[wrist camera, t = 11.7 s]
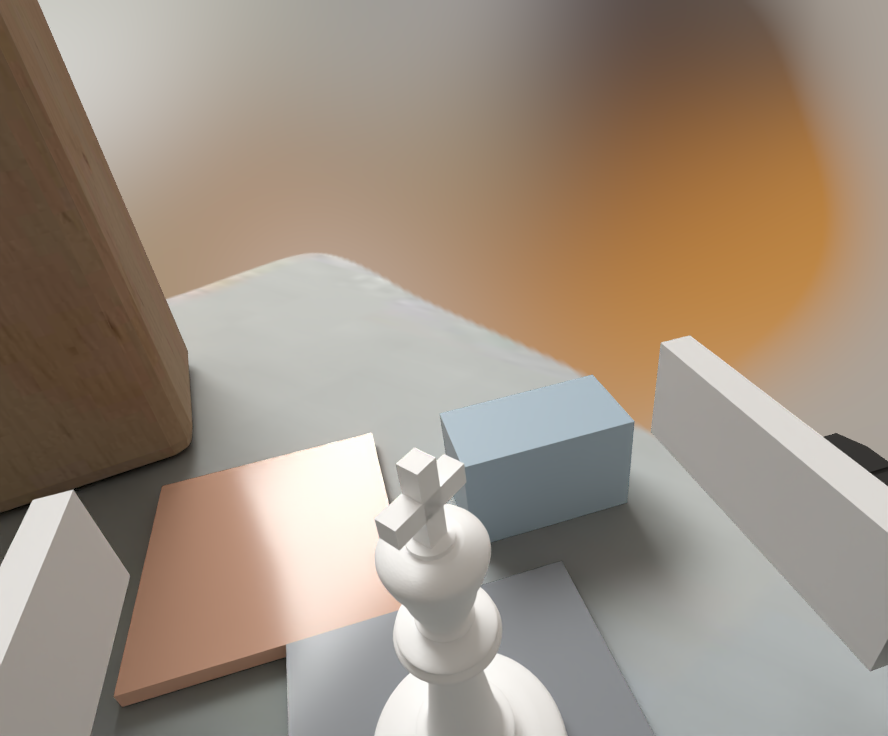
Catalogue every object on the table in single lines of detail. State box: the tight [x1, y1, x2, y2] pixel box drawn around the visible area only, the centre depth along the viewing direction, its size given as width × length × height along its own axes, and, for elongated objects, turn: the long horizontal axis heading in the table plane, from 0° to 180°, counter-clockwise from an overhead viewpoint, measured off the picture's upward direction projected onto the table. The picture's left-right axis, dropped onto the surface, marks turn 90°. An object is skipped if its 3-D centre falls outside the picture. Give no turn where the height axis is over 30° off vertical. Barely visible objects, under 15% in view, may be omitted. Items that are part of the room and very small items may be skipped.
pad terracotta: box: [114, 433, 402, 707], centre depth 21 cm, size 9×9×1 cm
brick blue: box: [440, 375, 634, 543], centre depth 21 cm, size 6×3×4 cm, turn 105°
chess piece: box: [374, 447, 568, 736], centre depth 11 cm, size 5×5×10 cm
